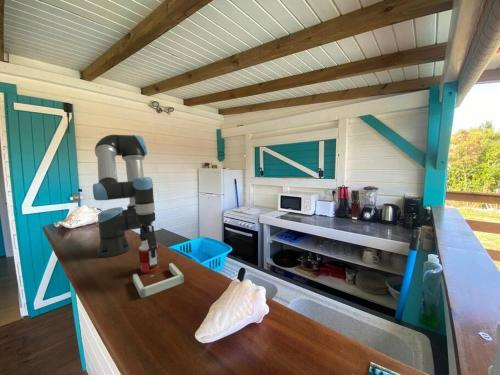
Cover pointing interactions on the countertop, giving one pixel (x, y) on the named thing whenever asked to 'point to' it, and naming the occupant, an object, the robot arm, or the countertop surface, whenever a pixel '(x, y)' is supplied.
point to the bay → (160, 285)
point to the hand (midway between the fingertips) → (149, 258)
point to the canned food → (147, 260)
